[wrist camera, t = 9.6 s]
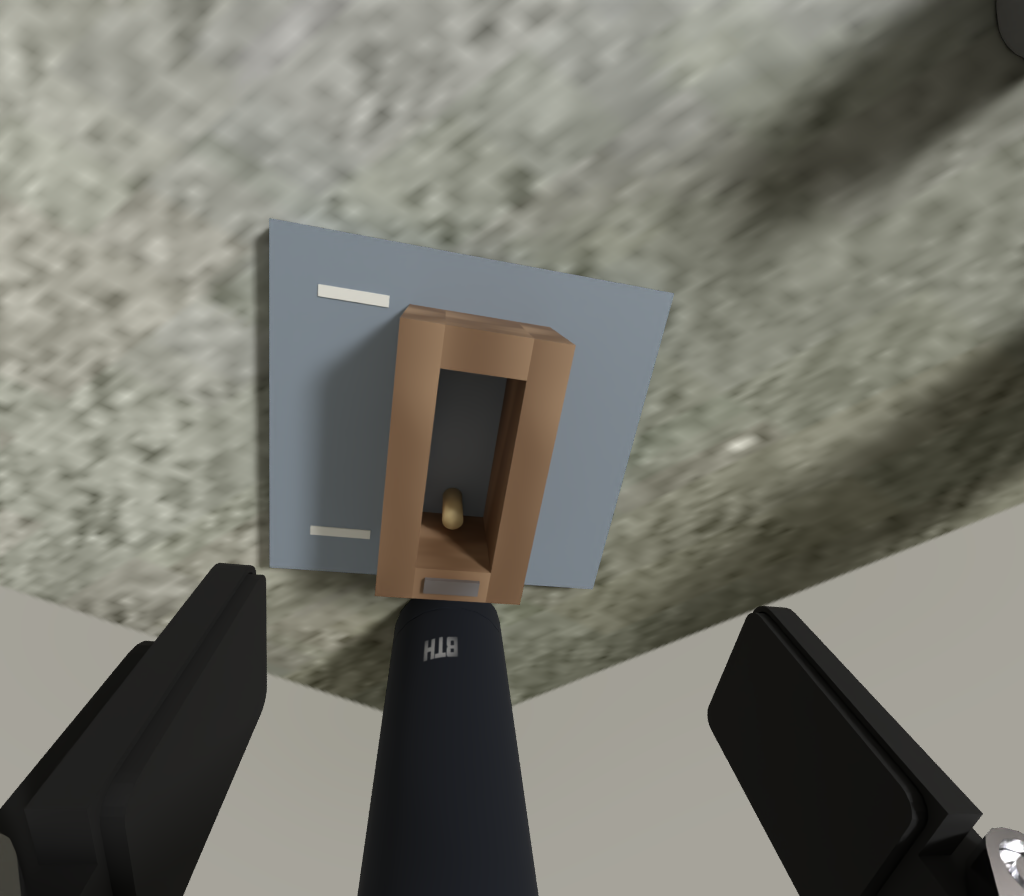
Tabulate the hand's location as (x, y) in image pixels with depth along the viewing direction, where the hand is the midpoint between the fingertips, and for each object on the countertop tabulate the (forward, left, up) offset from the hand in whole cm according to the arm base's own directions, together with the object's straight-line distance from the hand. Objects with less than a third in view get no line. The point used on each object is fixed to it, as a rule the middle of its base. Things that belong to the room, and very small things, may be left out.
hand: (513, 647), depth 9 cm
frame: (0, +2, -16) cm, 16 cm away
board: (0, +2, -17) cm, 17 cm away
